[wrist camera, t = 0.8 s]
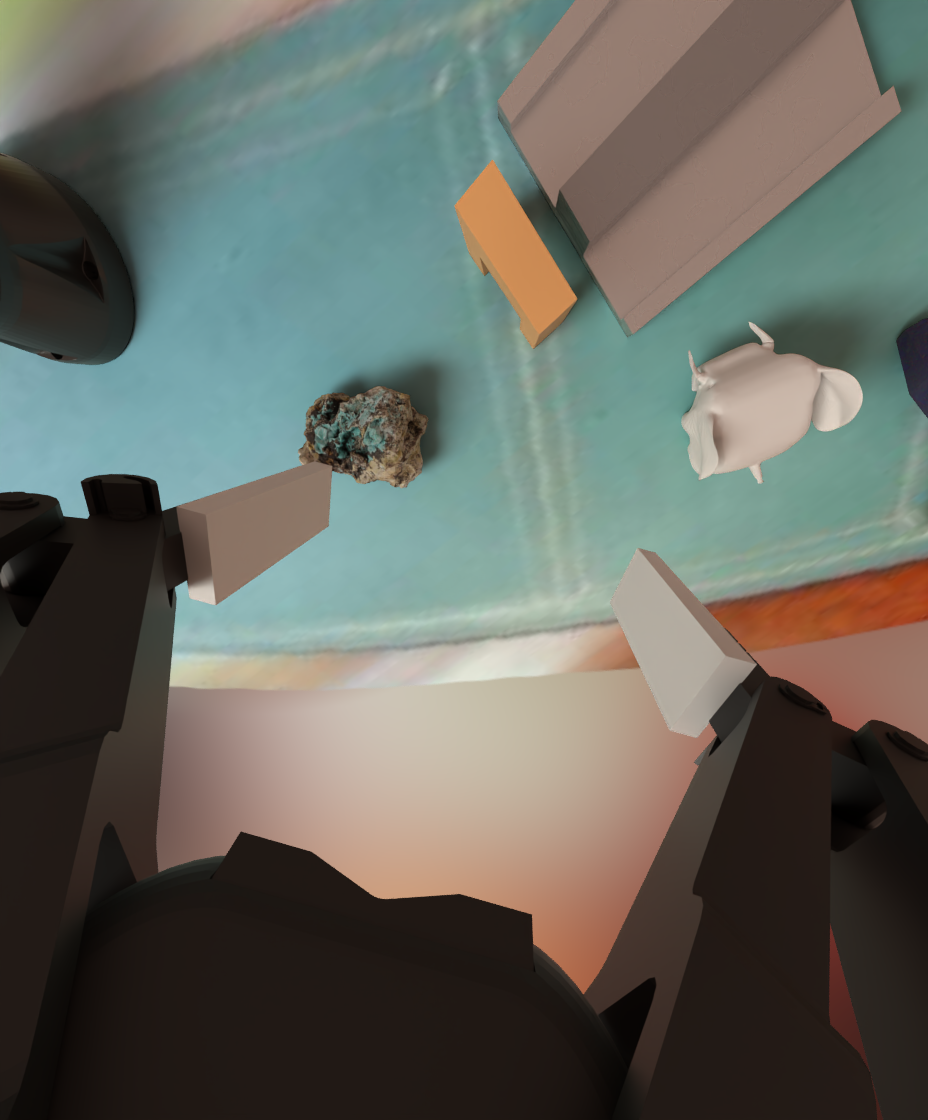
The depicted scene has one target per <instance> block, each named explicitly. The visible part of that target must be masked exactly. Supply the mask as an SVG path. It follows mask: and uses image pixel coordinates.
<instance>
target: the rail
mask: <svg viewBox="0 0 928 1120" xmlns="http://www.w3.org/2000/svg"><path fill="white" fill-rule="evenodd" d="M497 104H498V118H499V120H500V122H501V123H502V125H503V127H504V128H505V130H506V132H507V134H508V135H509V137H510V139H511V140H512V142H513V144H514V146H515V147H516V149H517V151H518V152H519V154H520V156H521V157H522V159H523V161H524V163H525V164H526V166H527V168H528V169H529V171H530V173H531V174H532V176H533V178H534V180H535V181H536V183H537V185H538V186H539V188H540V190H541V191H542V193H543V195H544V197H545V198H546V200H547V202H548V203H549V205H550V207H551V209H552V210H553V212H554V214H555V215H556V217H557V219H558V220H559V222H560V224H561V226H562V227H563V229H564V231H565V232H566V234H567V236H568V237H569V239H570V241H571V243H572V244H573V246H574V248H575V249H576V251H577V253H578V255H579V256H580V258H581V260H582V261H583V263H584V265H585V266H586V268H587V270H588V272H589V273H590V275H591V277H592V278H593V280H594V282H595V283H596V285H597V287H598V289H599V290H600V292H601V294H602V295H603V297H604V299H605V300H606V302H607V304H608V306H609V307H610V309H611V311H612V312H613V314H614V316H615V318H616V319H617V321H618V323H619V324H620V326H621V328H622V329H623V331H624V333H625V335H626V336H627V337H629V336H631V335H633V334H634V333H635V332H636V331H638V330H639V329H640V328H641V327H642V326H644V325H645V324H646V323H647V322H648V321H650V320H651V319H652V318H653V317H654V316H656V315H657V314H658V313H659V312H660V311H662V310H663V309H664V308H665V307H667V306H668V305H669V304H670V303H671V302H673V301H674V300H675V299H676V298H677V297H679V296H680V295H681V294H682V293H683V292H685V291H686V290H687V289H688V288H689V287H691V286H692V285H693V284H694V283H695V282H697V281H698V280H699V279H700V278H701V277H703V276H704V275H705V274H706V273H707V272H709V271H710V270H711V269H712V268H713V267H715V266H716V265H717V264H718V263H719V262H721V261H722V260H723V259H724V258H725V257H727V256H728V255H729V254H730V253H731V252H733V251H734V250H735V249H736V248H737V247H739V246H740V245H741V244H742V243H743V242H745V241H746V240H747V239H748V238H750V237H751V236H752V235H753V234H754V233H756V232H757V231H758V230H759V229H760V228H762V227H763V226H764V225H765V224H766V223H768V222H769V221H770V220H771V219H772V218H774V217H775V216H776V215H777V214H778V213H780V212H781V211H782V210H783V209H784V208H786V207H787V206H788V205H789V204H790V203H792V202H793V201H794V200H795V199H796V198H798V197H799V196H800V195H801V194H802V193H804V192H805V191H806V190H807V189H808V188H810V187H811V186H812V185H813V184H814V183H816V182H817V181H818V180H819V179H820V178H822V177H823V176H824V175H825V174H826V173H828V172H829V171H830V170H831V169H832V168H834V167H835V166H836V165H837V164H839V163H840V162H841V161H842V160H843V159H845V158H846V157H847V156H848V155H849V154H851V153H852V152H853V151H854V150H855V149H857V148H858V147H859V146H860V145H861V144H863V143H864V142H865V141H866V140H867V139H869V138H870V137H871V136H872V135H873V134H875V133H876V132H877V131H878V130H879V129H881V128H882V127H883V126H884V125H885V124H887V123H888V122H889V121H890V120H891V119H893V118H894V117H895V116H896V115H897V114H899V113H900V112H901V109H900V105H899V102H898V99H897V96H896V92H895V89H894V86H892V87H891V88H890V89H889V90H888V91H886V92H885V93H884V94H883V95H882V96H881V94H880V91H879V87H878V84H877V81H876V78H875V75H874V72H873V69H872V66H871V62H870V59H869V56H868V53H867V50H866V47H865V44H864V40H863V37H862V34H861V31H860V28H859V25H858V22H857V18H856V15H855V12H854V9H853V6H852V3H851V0H575V2H574V3H573V4H572V5H571V7H570V8H569V9H568V11H567V12H566V13H565V14H564V16H563V17H562V18H561V20H560V21H559V22H558V23H557V25H556V26H555V27H554V29H553V30H552V31H551V32H550V34H549V35H548V36H547V38H546V39H545V40H544V42H543V43H542V44H541V45H540V47H539V48H538V49H537V51H536V52H535V53H534V54H533V56H532V57H531V58H530V60H529V61H528V62H527V63H526V65H525V66H524V67H523V69H522V70H521V71H520V72H519V74H518V75H517V76H516V78H515V79H514V80H513V81H512V83H511V84H510V85H509V87H508V88H507V89H506V91H505V92H504V93H503V94H502V96H501V97H500V98H499V100H498V101H497Z"/></svg>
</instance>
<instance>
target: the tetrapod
mask: <svg viewBox="0 0 928 1120" xmlns="http://www.w3.org/2000/svg"><path fill="white" fill-rule="evenodd" d="M896 342H897V346H898V350H899V354H900V358H901V362H902V366H903V371H904V375H905V379H906V383H907V387H908V391H909V394H910V396H911V397H912V398H913V400H914V401H915V402H916V404H917V405H918V406H919V407H920V409H921V410H922V411H923V413H924V414H925V415H926V417H927V418H928V318H926V319H923V320H921V321H919V322H918V323H916V324H914V325H913V326H911V327H909V328H908V329H906V330H905V331H904V332H903V333H902V334H901V336H900V337H899V338H898V339H897V340H896Z"/></svg>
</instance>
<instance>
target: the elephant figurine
mask: <svg viewBox="0 0 928 1120" xmlns="http://www.w3.org/2000/svg"><path fill="white" fill-rule="evenodd" d="M748 322H749V321H748ZM749 325H750V328H751V329H752V330H753V331H754V332H755V333H756V334H757V335H758V336H759V337H760V338H761V340H762V343H763V344H762V345H761V346H760V345H759V344H757V343H748V344H745V345H742V346H739V347H737V348H734V349H732V350H730V351H728V352H726V353H724V354H722V355H720V356H718V357H715V358H713V359H711V360H709V361H707V362H705V363H703V364H702V365H700V366H699V367H697V368H696V366H695V364H694V361H693V358H692V355H691V352H690V350H689V351H688V353H689V360H690V366H691V368H692V371H693V375H692V391H697V394H696V397H695V400H694V403H693V406H692V408H691V409H690V411H689V412H687V413H685V414H684V415H683V417H682V420H681V423H682V426H683V428H684V430H685V431H686V432H687V433H688V434H689V437H690V444H689V446H688V449H687V450H688V453H689V458H690V462H691V464H692V467H693V468H694V470H695V471H696V472H697V473H698V474H699V480H701V479H703V478H706V477H708V476H710V475H711V474H712V473H714V474H721V473H726V472H732V471H735V470H739V469H743V468H746V467H749V468H750V470H751V471H752V473H753V475H754V477H755V478H756V479H757V480H758V483H762V482H764V481H763V480H762V472H761V468H760V464H761V462H763V461H765V460H767V459H770V458H772V457H774V456H777V455H779V454H781V453H782V452H784V451H786V450H788V449H789V448H790V447H792V446H793V445H794V444H795V443H796V442H798V441H799V440H800V439H801V438H802V437H803V436H804V435H805V434H806V433H807V431H808V429H809V426H810V422H811V420H812V422H813V424H814V426H815V428H816V429H818V430H820V431H831V430H834V429H836V428H839V427H841V426H843V425H846V424H847V423H849V422H850V421H851V420H852V419H853V418H854V417H855V416H856V414H857V413H858V411H859V409H860V407H861V405H862V400H863V395H862V390H861V387H860V385H859V383H858V381H857V380H856V378H854V377H853V376H852V375H851V374H849V373H847V372H845V371H843V370H840V369H837V368H831V367H826V366H822V365H819V364H817V363H815V362H814V361H812V360H811V359H809V358H807V357H805V356H802V355H799V354H792V353H790V354H781V355H779V354H776V353H775V352H773V350H774V341H773V339H772V338H771V337H770V336H769V335H768V334H767V333H765V332H764V331H763V330H762V329H761V328H759V327H758V326H756V325H755V324H753V323H751V322H749Z"/></svg>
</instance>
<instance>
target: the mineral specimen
mask: <svg viewBox="0 0 928 1120" xmlns="http://www.w3.org/2000/svg"><path fill="white" fill-rule="evenodd" d="M428 420H429V419H428V418H427V416H426V415H422V414H420V413H418V412H417V411H416V410H415V408H414V407H412V406H411V403H410V396H409V395H407V394H404V393H399V392H397V391H394V390H392V389H388V388H386V387H385V386H376V387H374V388H372V389H370V390H369V391H367V392H366V393H359V394H357V396H354V397H349V396H348V395H346V394H344V393H332V394H327V395H321V397H320V398H318V399H317V400H315V402H314V406H311V407H309V409H308V411H307V413H306V430H305V432H304V435H305V436H306V440H307V441H306V443H305V444H304V446H303V447H302V448H300V449H299V451H298V453H299V454H300V456H299V461H300V462H301V464H302V465H305V464H308V463H311V462H314V461H315V462H319V463H323V464H326V465H330V466H332V471H335V472H337V473H343V474H344V473H345V474H348V475H352V476H353V477H354V479H355V480H356V482H357V483H361V484H366V483H370V482H371V481H376V480H382V481H387V482H389V483H390V485H392V486H394V487H399V486H400V488H404V487H407V485H408V483H409V482H410V481H413V480H414V479H415V477H417V476H418V475H419V474H420V473H422V465H423V461H422V455H421V453H420V438H421V436H422V435H423V434H425V430H426V428H427V422H428Z"/></svg>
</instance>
